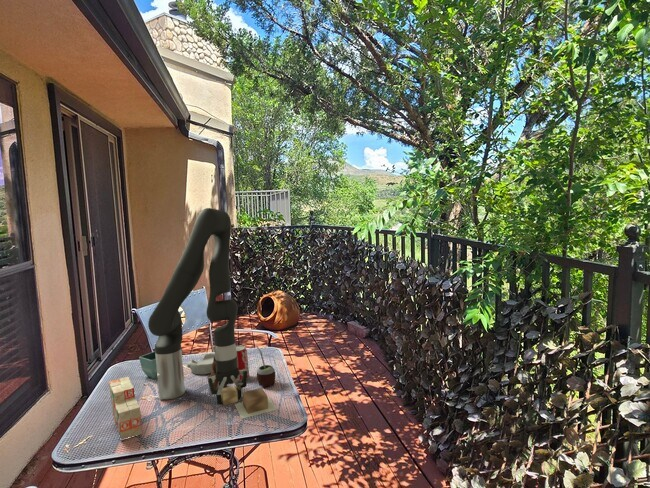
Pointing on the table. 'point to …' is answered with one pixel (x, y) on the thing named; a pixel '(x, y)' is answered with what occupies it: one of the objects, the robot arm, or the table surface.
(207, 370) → the dish
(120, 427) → the stack of blocks
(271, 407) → the build board
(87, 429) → the table surface
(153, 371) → the flower pot
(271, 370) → the mate gourd
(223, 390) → the maple brick
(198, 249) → the robot arm
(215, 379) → the wooden figurine
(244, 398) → the walnut brick
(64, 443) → the table surface
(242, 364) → the soda can
